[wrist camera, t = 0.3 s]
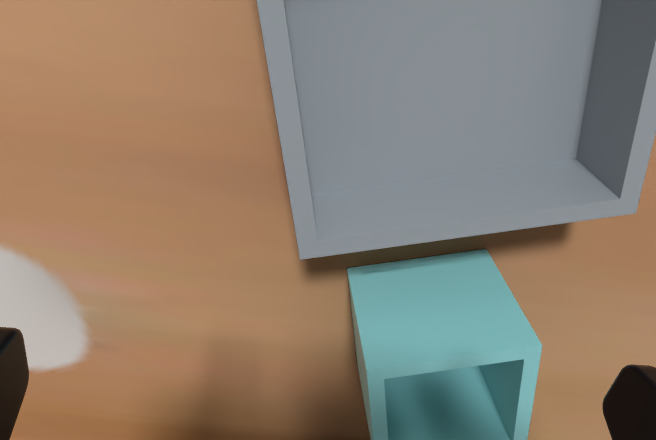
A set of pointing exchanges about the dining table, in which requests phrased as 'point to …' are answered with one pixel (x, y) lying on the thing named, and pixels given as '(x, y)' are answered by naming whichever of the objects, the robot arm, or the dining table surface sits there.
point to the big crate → (458, 115)
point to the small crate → (443, 349)
